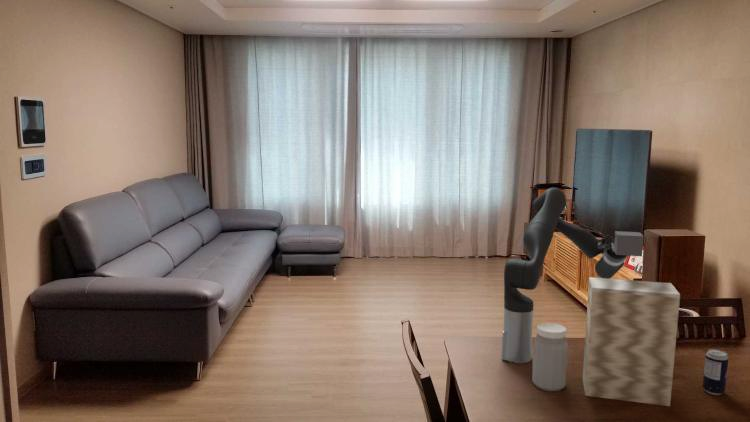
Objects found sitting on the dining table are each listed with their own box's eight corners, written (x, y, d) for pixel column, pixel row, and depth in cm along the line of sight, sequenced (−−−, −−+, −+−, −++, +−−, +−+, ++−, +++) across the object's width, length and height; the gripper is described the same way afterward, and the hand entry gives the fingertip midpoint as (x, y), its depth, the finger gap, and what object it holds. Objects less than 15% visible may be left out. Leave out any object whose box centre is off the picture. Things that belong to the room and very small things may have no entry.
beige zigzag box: (585, 395, 163) (592, 287, 158) (582, 378, 174) (589, 277, 169) (669, 406, 157) (680, 294, 152) (661, 388, 168) (671, 283, 163)
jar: (524, 380, 172) (527, 324, 170) (550, 375, 176) (553, 319, 173) (546, 395, 164) (549, 335, 161) (573, 389, 167) (576, 330, 164)
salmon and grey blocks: (641, 256, 167) (643, 236, 166) (616, 254, 169) (617, 235, 168) (631, 242, 186) (633, 224, 185) (608, 240, 188) (609, 223, 187)
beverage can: (727, 397, 163) (732, 357, 161) (706, 395, 164) (710, 355, 162) (720, 388, 168) (724, 349, 166) (699, 386, 169) (703, 347, 167)
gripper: (593, 240, 199) (599, 224, 184) (637, 243, 196) (647, 226, 180) (593, 261, 197) (599, 246, 181) (638, 264, 193) (648, 249, 177)
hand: (623, 236), depth 181 cm, fingers closed on salmon and grey blocks, 3 cm apart
